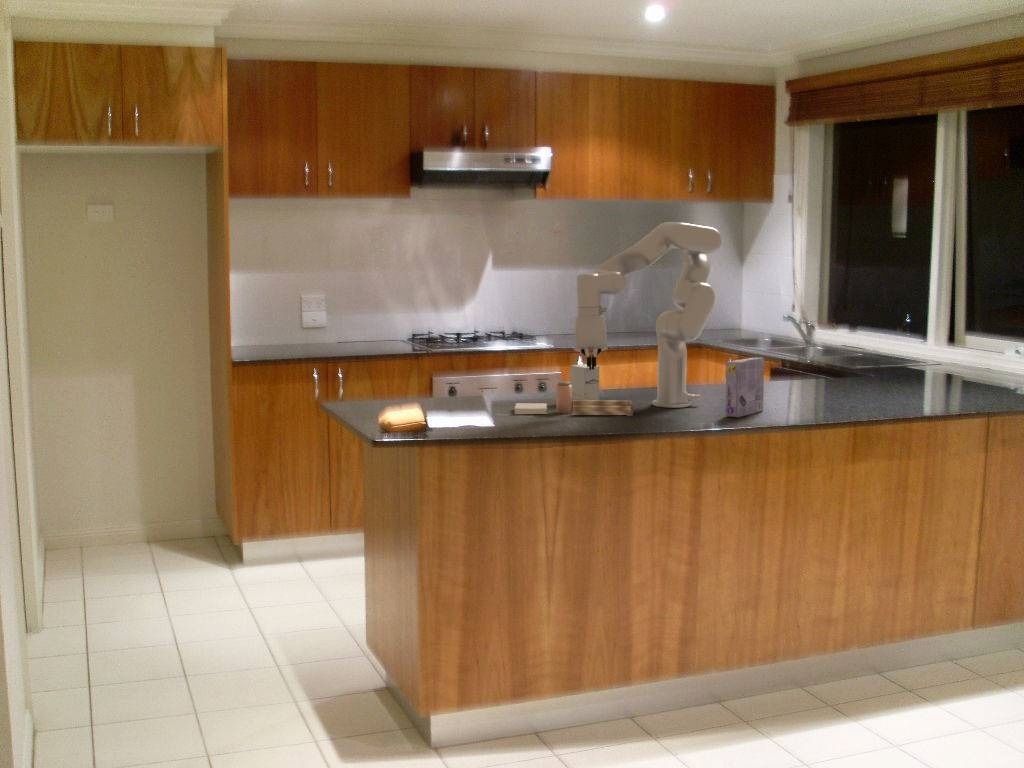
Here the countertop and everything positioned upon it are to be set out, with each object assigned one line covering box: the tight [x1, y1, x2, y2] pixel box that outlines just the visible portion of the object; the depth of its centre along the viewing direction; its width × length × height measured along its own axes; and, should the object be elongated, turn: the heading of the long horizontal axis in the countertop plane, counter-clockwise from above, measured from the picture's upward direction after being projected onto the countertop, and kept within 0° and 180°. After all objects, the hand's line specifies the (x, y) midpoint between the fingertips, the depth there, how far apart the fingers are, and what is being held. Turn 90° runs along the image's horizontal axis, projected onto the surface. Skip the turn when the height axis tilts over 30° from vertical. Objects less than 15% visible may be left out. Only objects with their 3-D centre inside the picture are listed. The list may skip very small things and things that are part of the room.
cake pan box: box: [725, 357, 765, 419], centre depth 349 cm, size 19×5×18 cm, turn 141°
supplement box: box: [569, 363, 600, 403], centre depth 372 cm, size 7×7×13 cm
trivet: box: [514, 402, 548, 415], centre depth 354 cm, size 10×10×2 cm
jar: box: [555, 380, 573, 414], centre depth 353 cm, size 5×5×10 cm
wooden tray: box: [572, 399, 634, 417], centre depth 352 cm, size 19×12×3 cm, turn 87°
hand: (591, 368), depth 351 cm, fingers closed
